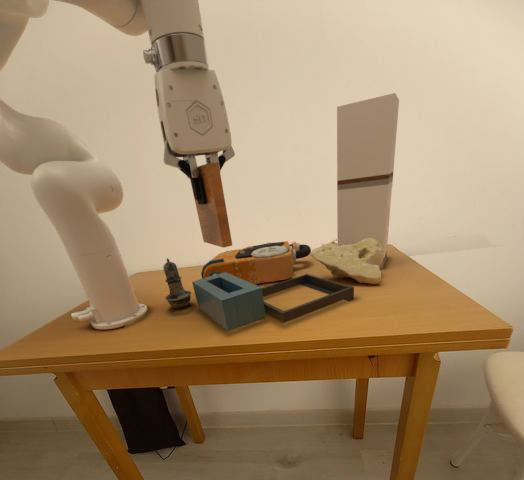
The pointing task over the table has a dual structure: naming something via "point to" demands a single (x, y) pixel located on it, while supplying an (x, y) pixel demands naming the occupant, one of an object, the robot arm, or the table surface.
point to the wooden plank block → (213, 208)
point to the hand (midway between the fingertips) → (209, 202)
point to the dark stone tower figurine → (175, 287)
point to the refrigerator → (365, 169)
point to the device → (258, 262)
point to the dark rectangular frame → (316, 283)
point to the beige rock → (352, 260)
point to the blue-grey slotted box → (229, 300)
